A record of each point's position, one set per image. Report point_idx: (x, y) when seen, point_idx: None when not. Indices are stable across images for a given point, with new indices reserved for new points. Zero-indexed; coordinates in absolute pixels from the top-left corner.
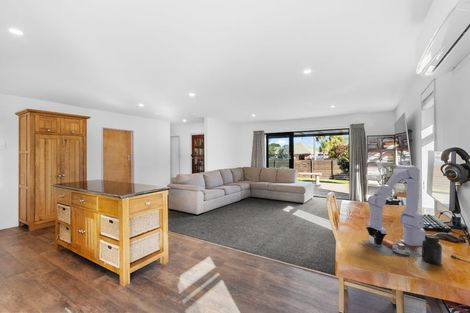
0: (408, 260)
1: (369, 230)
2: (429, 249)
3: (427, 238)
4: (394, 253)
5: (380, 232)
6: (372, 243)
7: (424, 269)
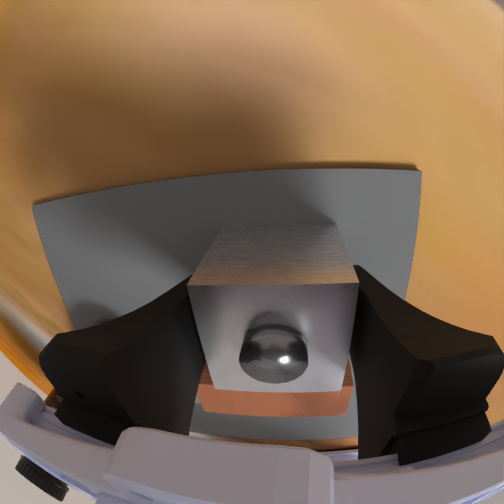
0: (51, 323)
1: (393, 354)
2: None
3: (21, 464)
4: (97, 312)
5: (64, 405)
6: (249, 234)
7: (8, 317)
